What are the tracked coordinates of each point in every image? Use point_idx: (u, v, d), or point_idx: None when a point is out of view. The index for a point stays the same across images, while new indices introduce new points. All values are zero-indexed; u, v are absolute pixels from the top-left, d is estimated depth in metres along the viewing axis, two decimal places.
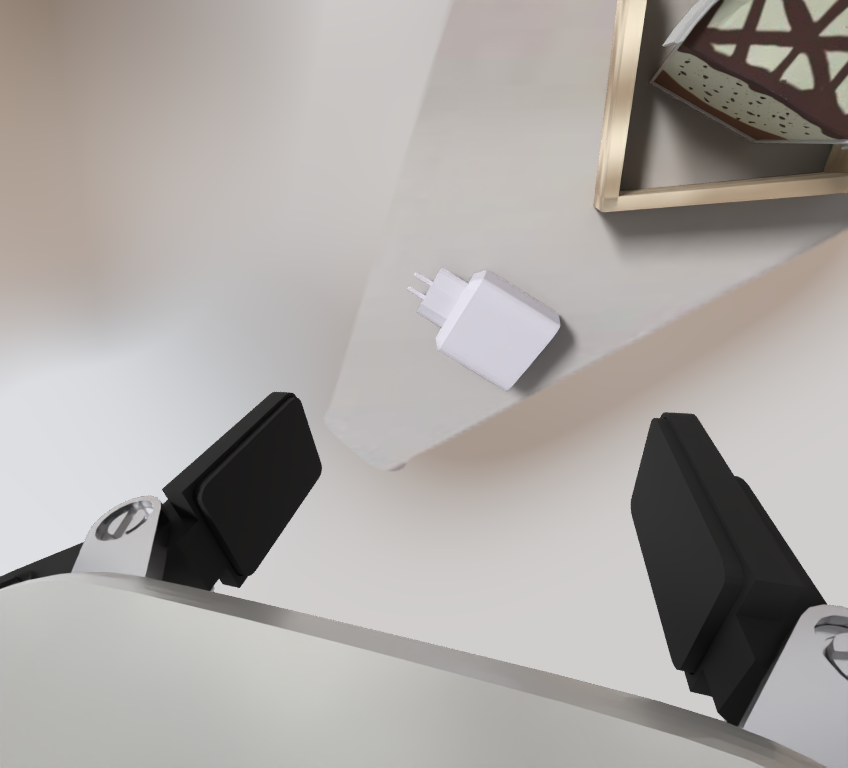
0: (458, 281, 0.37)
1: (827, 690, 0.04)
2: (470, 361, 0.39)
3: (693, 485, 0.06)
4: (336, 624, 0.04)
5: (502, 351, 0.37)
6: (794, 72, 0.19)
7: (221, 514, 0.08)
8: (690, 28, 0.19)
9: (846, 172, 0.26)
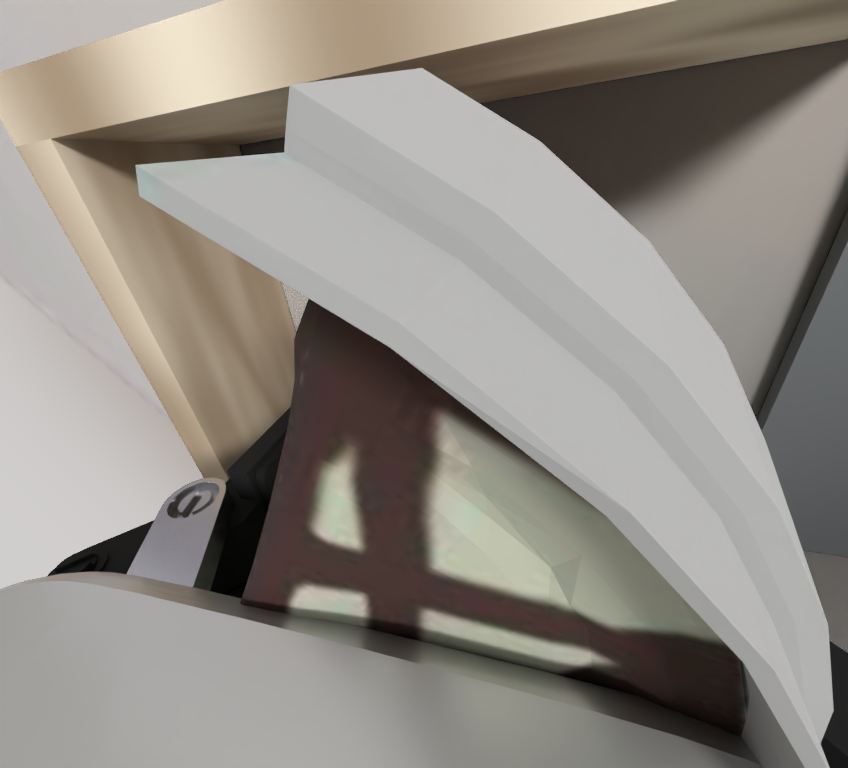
0: None
1: None
2: None
3: None
4: (336, 624, 0.04)
5: None
6: None
7: None
8: (347, 265, 0.01)
9: None
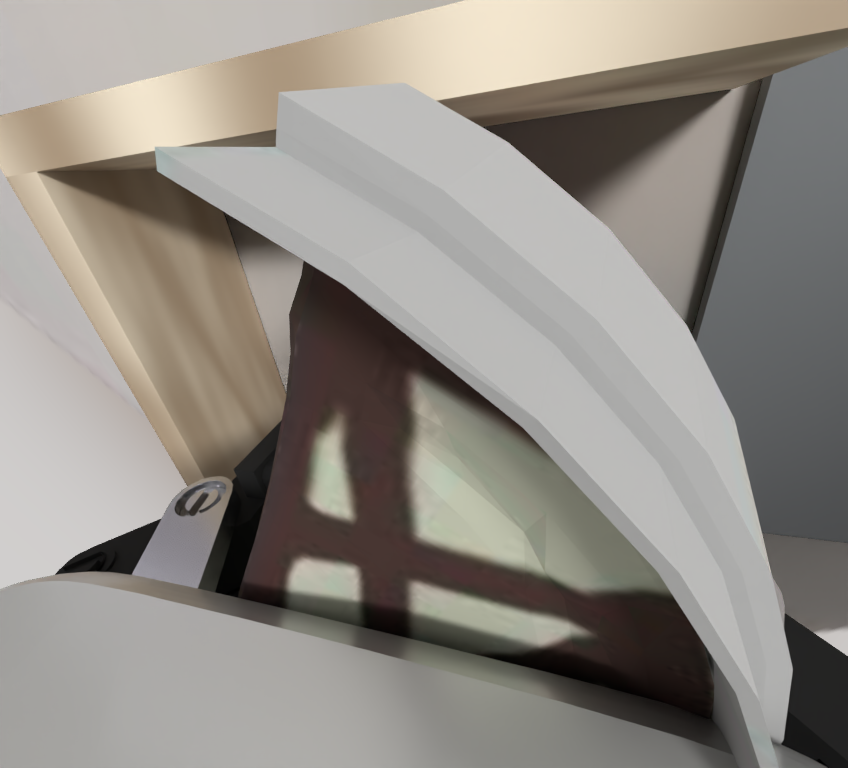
0: None
1: None
2: None
3: None
4: (336, 624, 0.04)
5: None
6: None
7: None
8: (314, 225, 0.01)
9: None
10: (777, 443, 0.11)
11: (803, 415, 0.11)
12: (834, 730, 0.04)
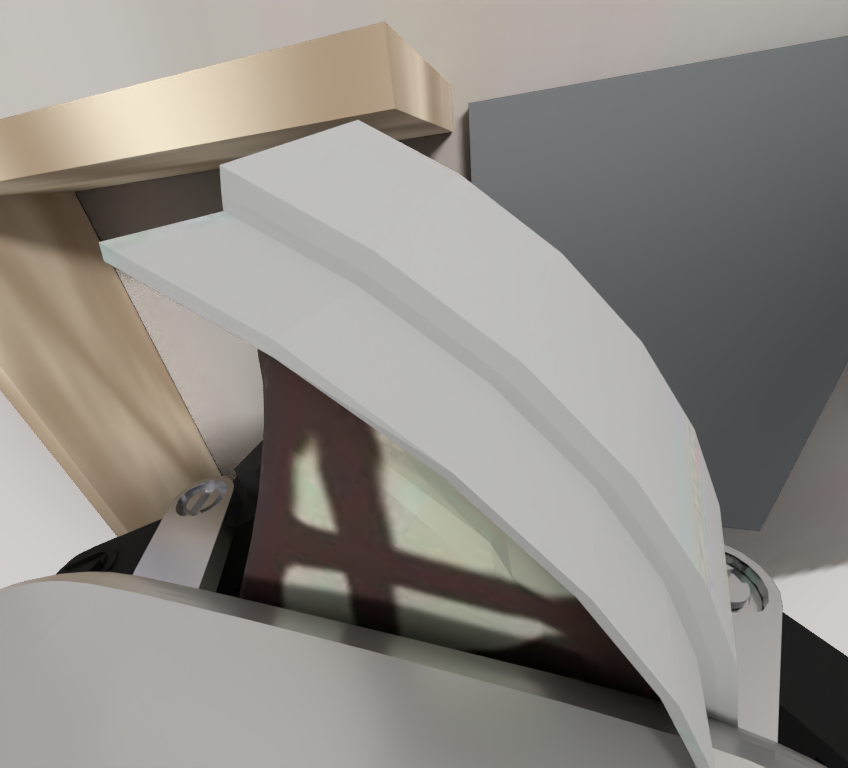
0: None
1: None
2: None
3: None
4: (336, 624, 0.04)
5: None
6: None
7: None
8: (248, 300, 0.02)
9: None
10: None
11: None
12: (831, 728, 0.04)
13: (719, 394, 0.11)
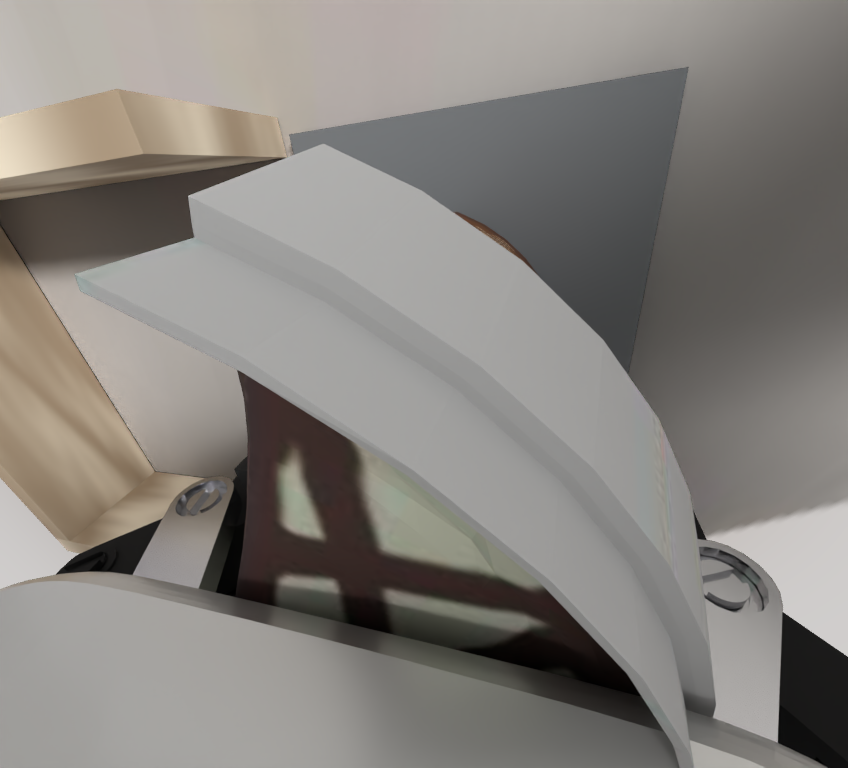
0: None
1: None
2: None
3: None
4: (336, 624, 0.04)
5: None
6: None
7: None
8: (218, 320, 0.02)
9: (115, 503, 0.20)
10: None
11: None
12: (832, 729, 0.04)
13: None
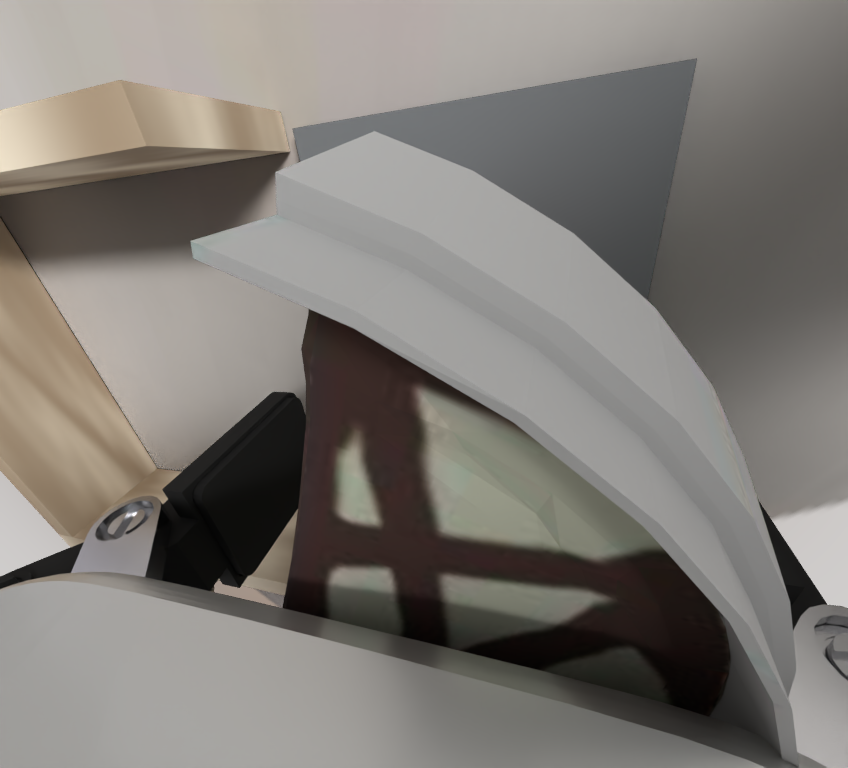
0: None
1: (827, 690, 0.04)
2: None
3: None
4: (336, 624, 0.04)
5: None
6: None
7: (221, 514, 0.08)
8: (322, 282, 0.02)
9: (117, 500, 0.20)
10: None
11: None
12: None
13: None
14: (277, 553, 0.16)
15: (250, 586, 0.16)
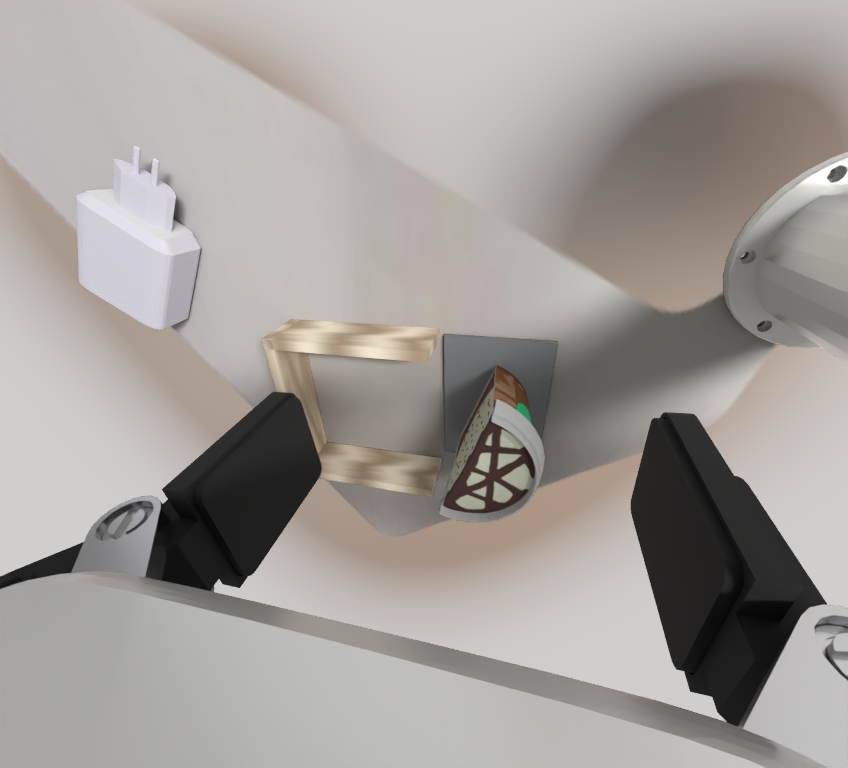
0: (167, 220, 0.32)
1: (827, 690, 0.04)
2: (83, 239, 0.33)
3: (693, 485, 0.06)
4: (336, 624, 0.04)
5: (110, 277, 0.34)
6: (475, 476, 0.29)
7: (221, 514, 0.08)
8: (499, 423, 0.25)
9: None
10: None
11: None
12: None
13: None
14: (405, 477, 0.40)
15: (394, 490, 0.39)
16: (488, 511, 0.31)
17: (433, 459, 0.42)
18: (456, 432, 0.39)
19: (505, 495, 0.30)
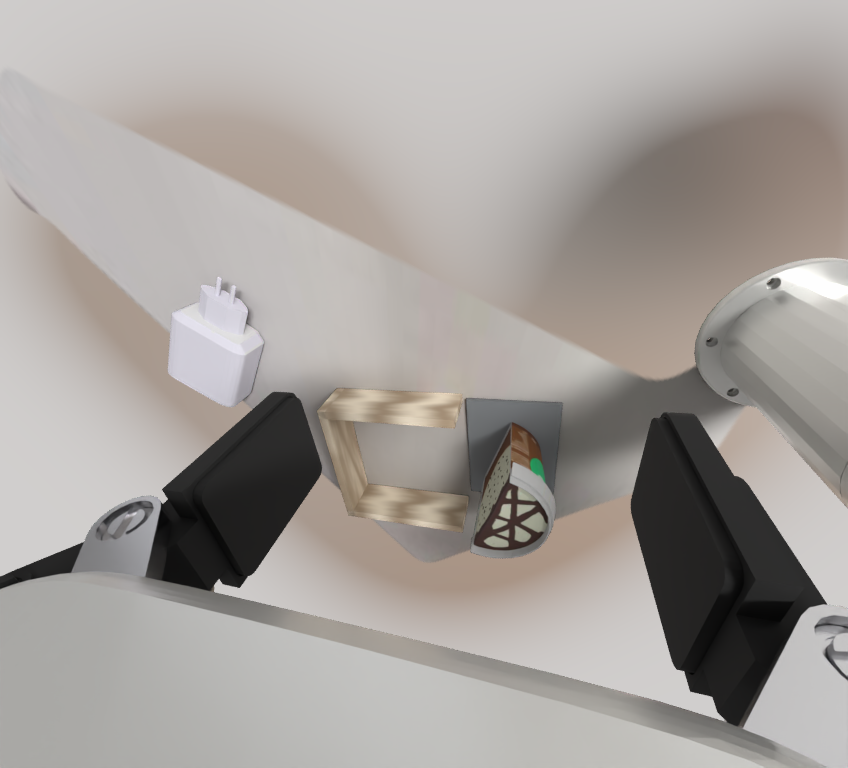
0: (241, 327, 0.41)
1: (827, 690, 0.04)
2: (175, 344, 0.42)
3: (693, 485, 0.06)
4: (336, 624, 0.04)
5: (195, 370, 0.43)
6: (499, 522, 0.35)
7: (221, 514, 0.08)
8: (516, 483, 0.31)
9: (361, 497, 0.50)
10: None
11: None
12: None
13: None
14: (438, 515, 0.46)
15: (429, 527, 0.46)
16: (511, 549, 0.37)
17: (461, 497, 0.48)
18: (480, 475, 0.45)
19: (525, 536, 0.36)
